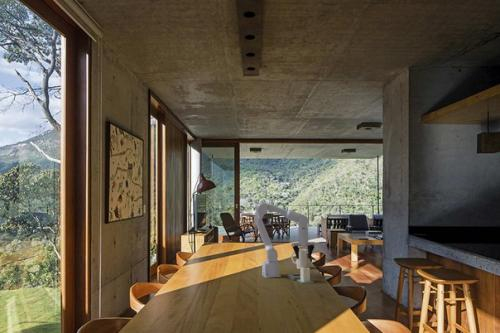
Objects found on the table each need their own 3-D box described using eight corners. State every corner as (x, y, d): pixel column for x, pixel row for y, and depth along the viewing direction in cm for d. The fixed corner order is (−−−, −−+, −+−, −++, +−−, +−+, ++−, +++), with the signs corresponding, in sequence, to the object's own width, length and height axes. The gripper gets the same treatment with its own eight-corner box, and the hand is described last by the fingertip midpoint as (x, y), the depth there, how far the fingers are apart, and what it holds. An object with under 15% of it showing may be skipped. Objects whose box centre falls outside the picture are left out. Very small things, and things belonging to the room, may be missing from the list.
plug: (303, 281, 217) (303, 268, 217) (300, 280, 220) (300, 266, 221) (310, 281, 218) (309, 267, 218) (306, 279, 222) (306, 266, 222)
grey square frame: (292, 280, 222) (292, 277, 222) (287, 276, 231) (287, 274, 231) (307, 279, 225) (307, 276, 225) (301, 275, 233) (301, 273, 233)
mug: (307, 267, 257) (306, 249, 258) (306, 269, 251) (306, 250, 251) (291, 266, 259) (291, 248, 260) (290, 269, 253) (290, 250, 253)
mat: (302, 283, 214) (302, 282, 215) (297, 280, 221) (297, 279, 221) (313, 282, 216) (313, 281, 216) (308, 279, 223) (308, 278, 223)
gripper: (294, 236, 228) (294, 260, 227) (317, 235, 232) (317, 258, 231) (290, 235, 235) (290, 258, 234) (312, 234, 238) (312, 256, 238)
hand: (303, 258), depth 233 cm, fingers open, 7 cm apart
